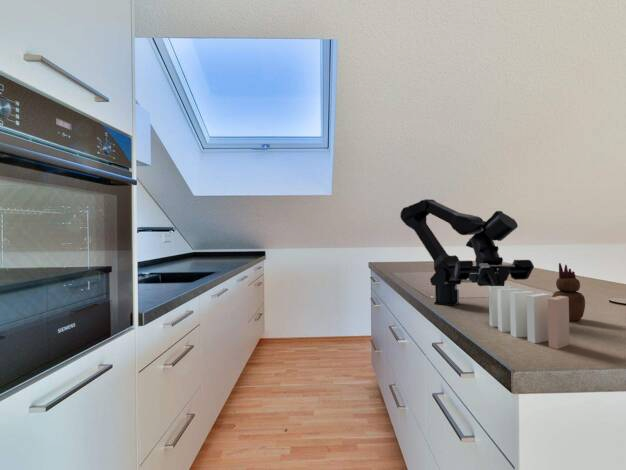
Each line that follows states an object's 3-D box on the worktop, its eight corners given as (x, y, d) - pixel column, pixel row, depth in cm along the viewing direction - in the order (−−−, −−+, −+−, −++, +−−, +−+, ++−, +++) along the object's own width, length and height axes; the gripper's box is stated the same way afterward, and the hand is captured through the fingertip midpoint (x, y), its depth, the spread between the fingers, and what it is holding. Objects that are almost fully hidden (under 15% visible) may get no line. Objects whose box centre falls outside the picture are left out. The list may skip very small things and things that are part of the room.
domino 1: (489, 324, 83) (488, 286, 83) (511, 325, 82) (509, 286, 82) (491, 326, 81) (490, 287, 81) (513, 327, 80) (512, 287, 80)
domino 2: (498, 329, 79) (497, 288, 79) (518, 329, 79) (517, 288, 79) (501, 331, 77) (500, 290, 77) (523, 331, 77) (522, 289, 77)
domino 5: (548, 346, 67) (547, 298, 67) (560, 342, 69) (559, 295, 69) (557, 349, 65) (556, 299, 65) (569, 344, 68) (568, 296, 68)
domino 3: (510, 335, 74) (509, 292, 74) (529, 333, 75) (528, 290, 75) (516, 337, 73) (515, 293, 73) (535, 335, 74) (534, 292, 74)
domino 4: (527, 341, 70) (526, 295, 70) (543, 337, 72) (542, 293, 72) (534, 343, 69) (533, 296, 69) (551, 340, 71) (550, 294, 70)
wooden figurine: (555, 320, 85) (553, 263, 85) (550, 315, 90) (549, 261, 90) (588, 323, 81) (586, 264, 81) (581, 318, 87) (580, 262, 86)
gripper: (512, 267, 98) (531, 312, 87) (447, 268, 101) (457, 312, 90) (523, 242, 90) (545, 288, 79) (452, 244, 93) (464, 289, 83)
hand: (501, 295), depth 83 cm, fingers closed
